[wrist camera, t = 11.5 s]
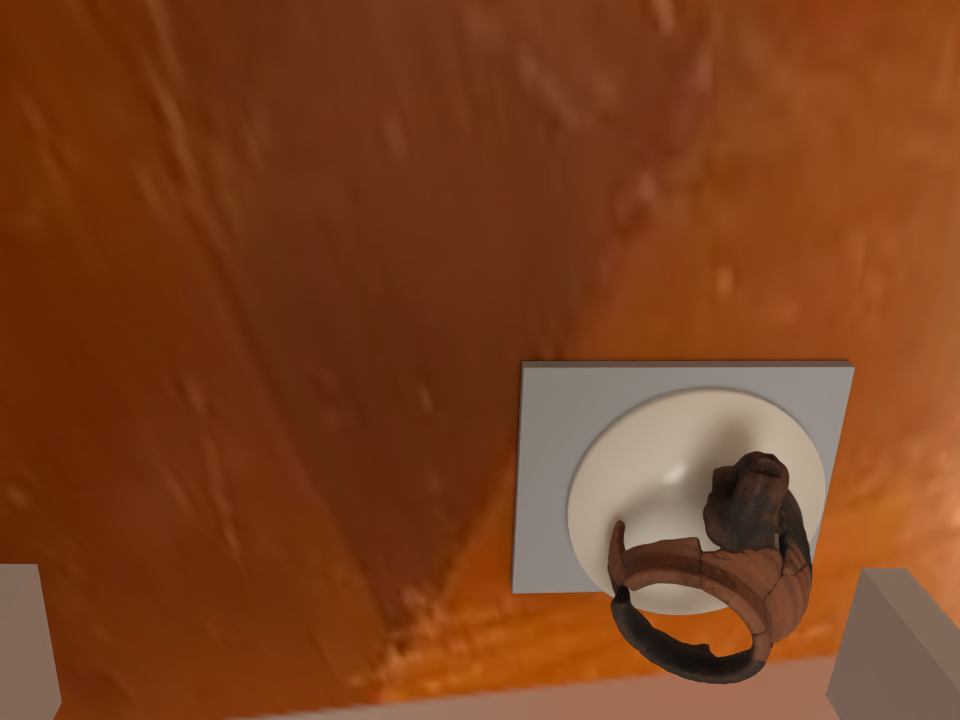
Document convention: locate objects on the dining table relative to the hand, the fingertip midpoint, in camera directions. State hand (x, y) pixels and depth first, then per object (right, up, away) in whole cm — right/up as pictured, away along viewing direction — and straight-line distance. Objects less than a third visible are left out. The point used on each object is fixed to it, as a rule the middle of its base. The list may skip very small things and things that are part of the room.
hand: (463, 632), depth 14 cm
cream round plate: (+11, -3, +29) cm, 31 cm away
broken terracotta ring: (+12, -3, +29) cm, 31 cm away
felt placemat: (+10, -2, +29) cm, 31 cm away
